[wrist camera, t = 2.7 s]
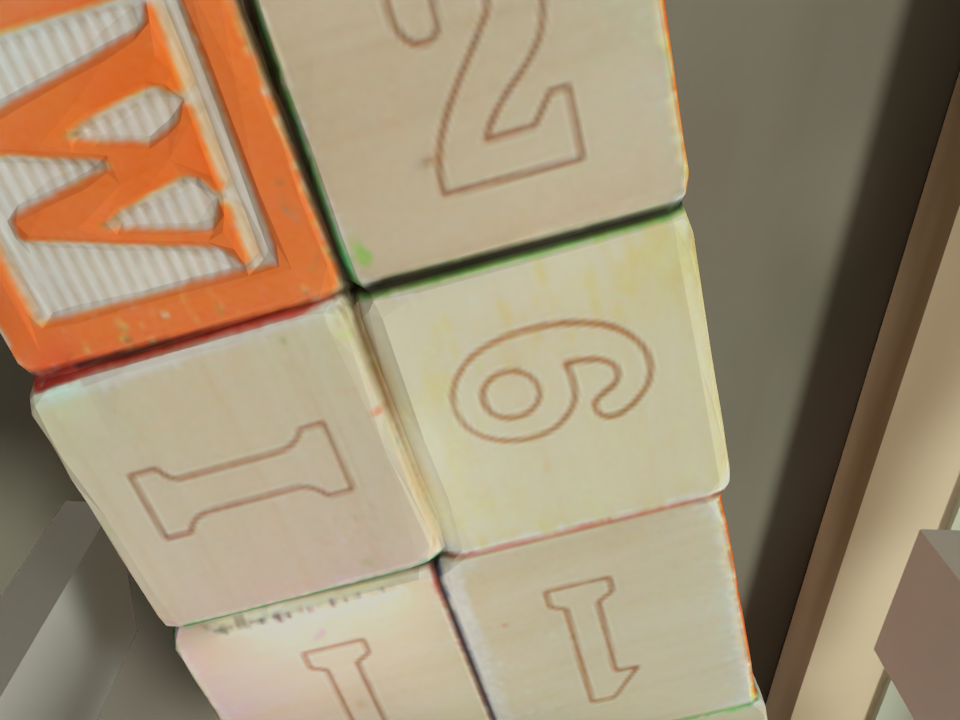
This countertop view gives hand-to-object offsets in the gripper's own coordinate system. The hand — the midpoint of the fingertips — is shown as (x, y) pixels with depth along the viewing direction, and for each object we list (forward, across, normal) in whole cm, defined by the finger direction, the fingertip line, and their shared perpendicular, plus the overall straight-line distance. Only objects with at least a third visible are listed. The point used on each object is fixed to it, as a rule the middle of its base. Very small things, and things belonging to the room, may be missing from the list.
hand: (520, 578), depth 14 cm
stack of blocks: (+8, 0, +1) cm, 8 cm away
